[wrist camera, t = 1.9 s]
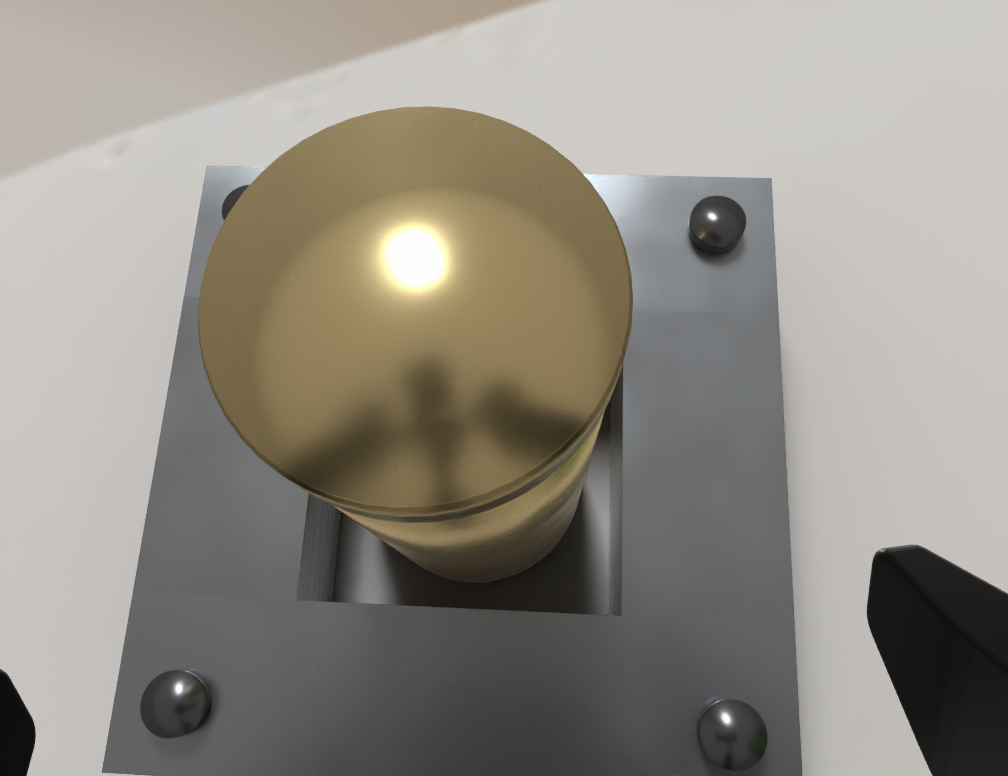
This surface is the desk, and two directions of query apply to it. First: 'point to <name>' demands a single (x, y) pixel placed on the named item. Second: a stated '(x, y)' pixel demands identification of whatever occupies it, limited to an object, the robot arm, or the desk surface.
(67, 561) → the desk surface
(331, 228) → the cylinder
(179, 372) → the housing
